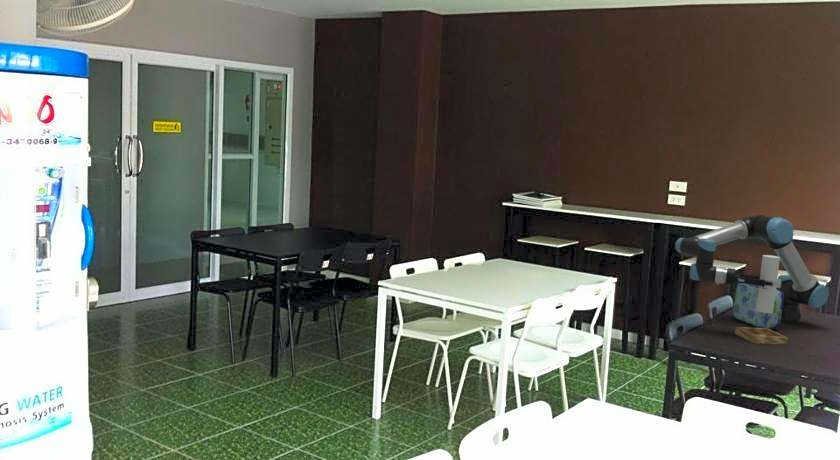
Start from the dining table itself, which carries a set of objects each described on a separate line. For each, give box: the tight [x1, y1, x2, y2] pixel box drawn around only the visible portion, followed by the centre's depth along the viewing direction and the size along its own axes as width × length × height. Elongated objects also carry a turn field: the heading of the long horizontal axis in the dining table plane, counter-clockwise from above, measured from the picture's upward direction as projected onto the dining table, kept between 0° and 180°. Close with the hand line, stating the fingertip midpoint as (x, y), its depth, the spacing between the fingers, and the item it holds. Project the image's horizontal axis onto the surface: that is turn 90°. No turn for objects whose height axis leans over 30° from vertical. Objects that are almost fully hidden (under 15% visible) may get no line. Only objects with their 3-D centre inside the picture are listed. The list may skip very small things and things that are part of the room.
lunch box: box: [732, 282, 784, 330], centre depth 397 cm, size 26×11×21 cm, turn 16°
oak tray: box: [734, 326, 788, 346], centre depth 368 cm, size 16×16×3 cm
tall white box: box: [756, 254, 781, 313], centre depth 365 cm, size 7×7×25 cm
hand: (780, 283), depth 363 cm, fingers closed on tall white box, 7 cm apart
